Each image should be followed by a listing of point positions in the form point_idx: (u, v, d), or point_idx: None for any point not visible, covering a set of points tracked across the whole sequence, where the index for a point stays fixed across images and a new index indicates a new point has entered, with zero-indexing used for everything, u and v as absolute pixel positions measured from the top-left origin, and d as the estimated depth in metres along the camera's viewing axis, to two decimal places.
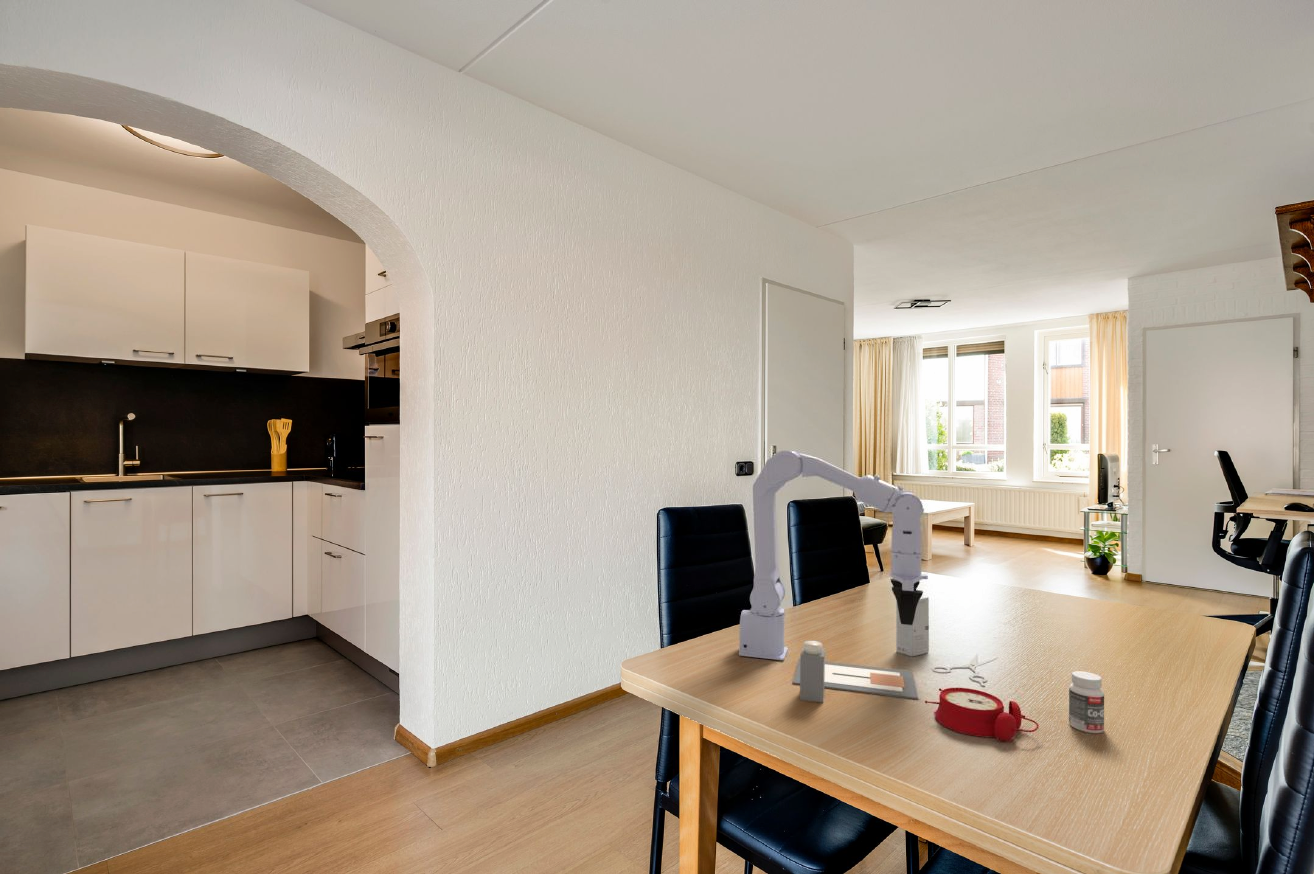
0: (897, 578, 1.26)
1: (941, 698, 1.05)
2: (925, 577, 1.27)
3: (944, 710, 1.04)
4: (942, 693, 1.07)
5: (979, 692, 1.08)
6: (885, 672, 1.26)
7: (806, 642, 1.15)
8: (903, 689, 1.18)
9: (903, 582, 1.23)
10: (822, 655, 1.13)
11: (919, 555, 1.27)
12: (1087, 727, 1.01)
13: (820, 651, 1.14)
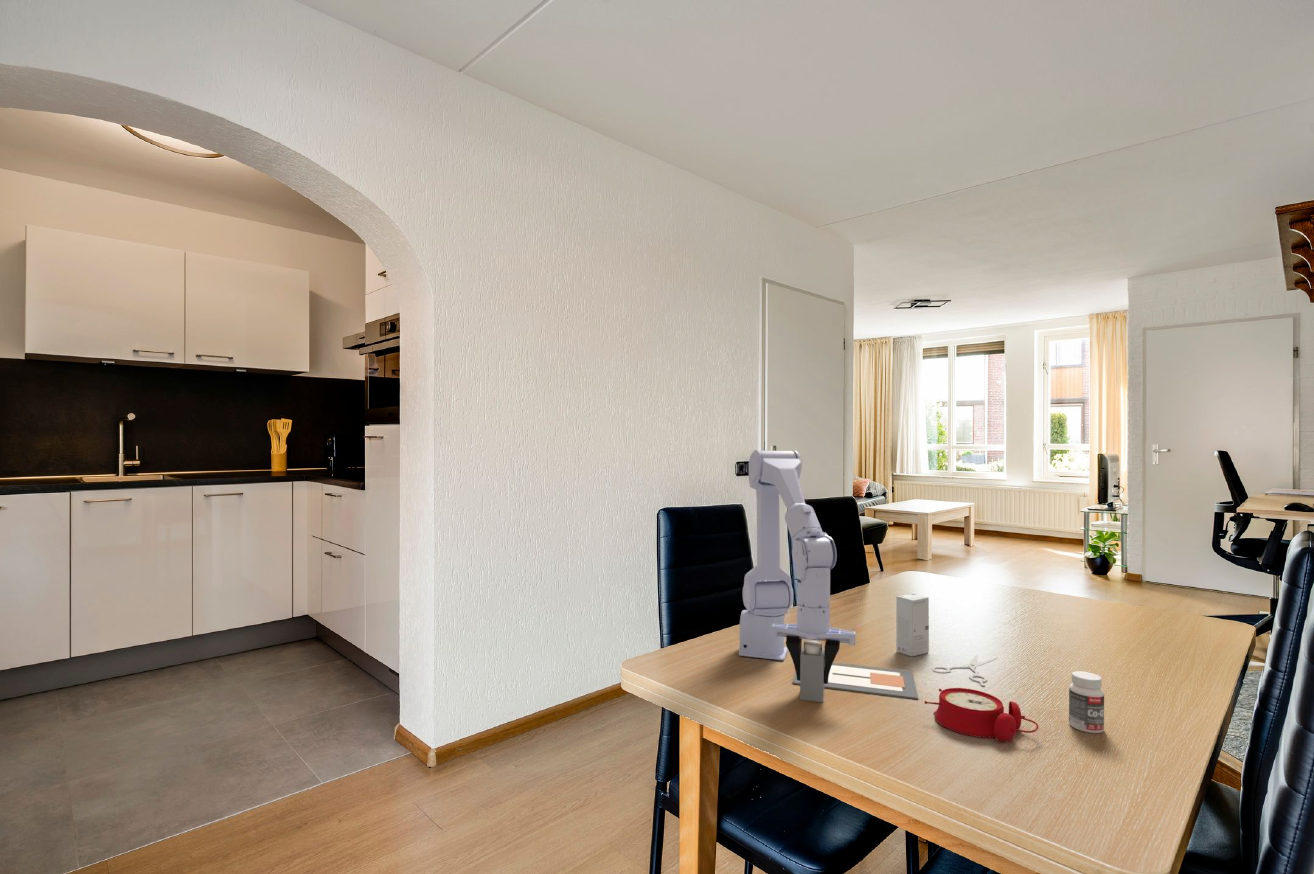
0: None
1: (941, 698, 1.05)
2: (805, 635, 1.12)
3: (943, 710, 1.04)
4: (942, 693, 1.07)
5: (979, 693, 1.08)
6: (885, 672, 1.26)
7: (806, 642, 1.15)
8: (903, 689, 1.18)
9: None
10: (822, 655, 1.13)
11: (803, 608, 1.13)
12: (1087, 727, 1.01)
13: (820, 651, 1.14)
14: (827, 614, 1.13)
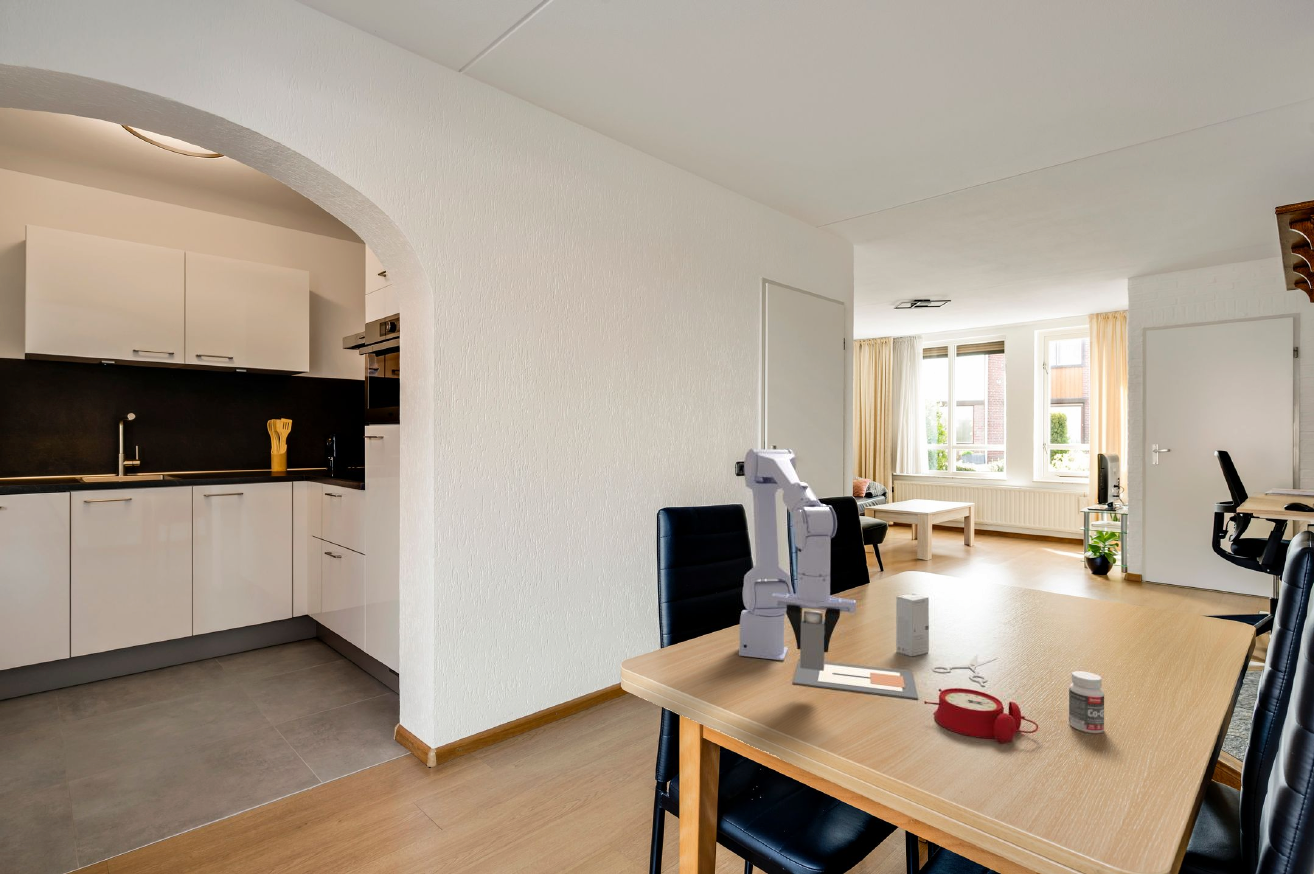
0: None
1: (940, 699, 1.05)
2: (805, 603, 1.12)
3: (943, 710, 1.04)
4: (942, 694, 1.07)
5: (979, 693, 1.07)
6: (885, 672, 1.26)
7: (806, 611, 1.15)
8: (903, 689, 1.18)
9: None
10: (822, 624, 1.13)
11: (803, 577, 1.13)
12: (1087, 727, 1.01)
13: (820, 620, 1.14)
14: (827, 583, 1.13)
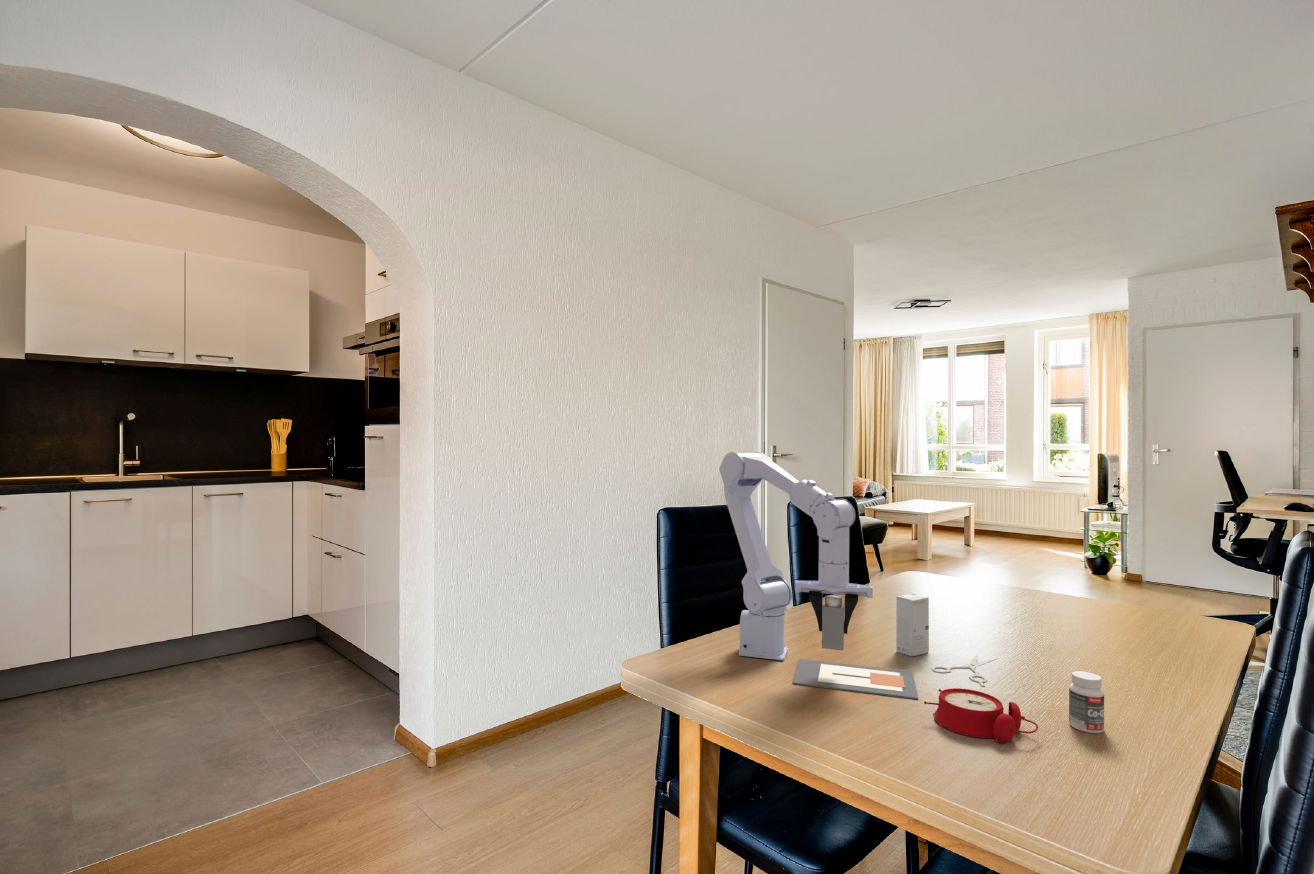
0: None
1: (940, 699, 1.05)
2: (827, 589, 1.22)
3: (943, 711, 1.04)
4: (941, 694, 1.07)
5: (979, 693, 1.07)
6: (885, 672, 1.26)
7: (827, 596, 1.26)
8: (903, 689, 1.18)
9: None
10: (842, 607, 1.23)
11: (824, 564, 1.24)
12: (1087, 727, 1.01)
13: (840, 604, 1.24)
14: (847, 570, 1.23)
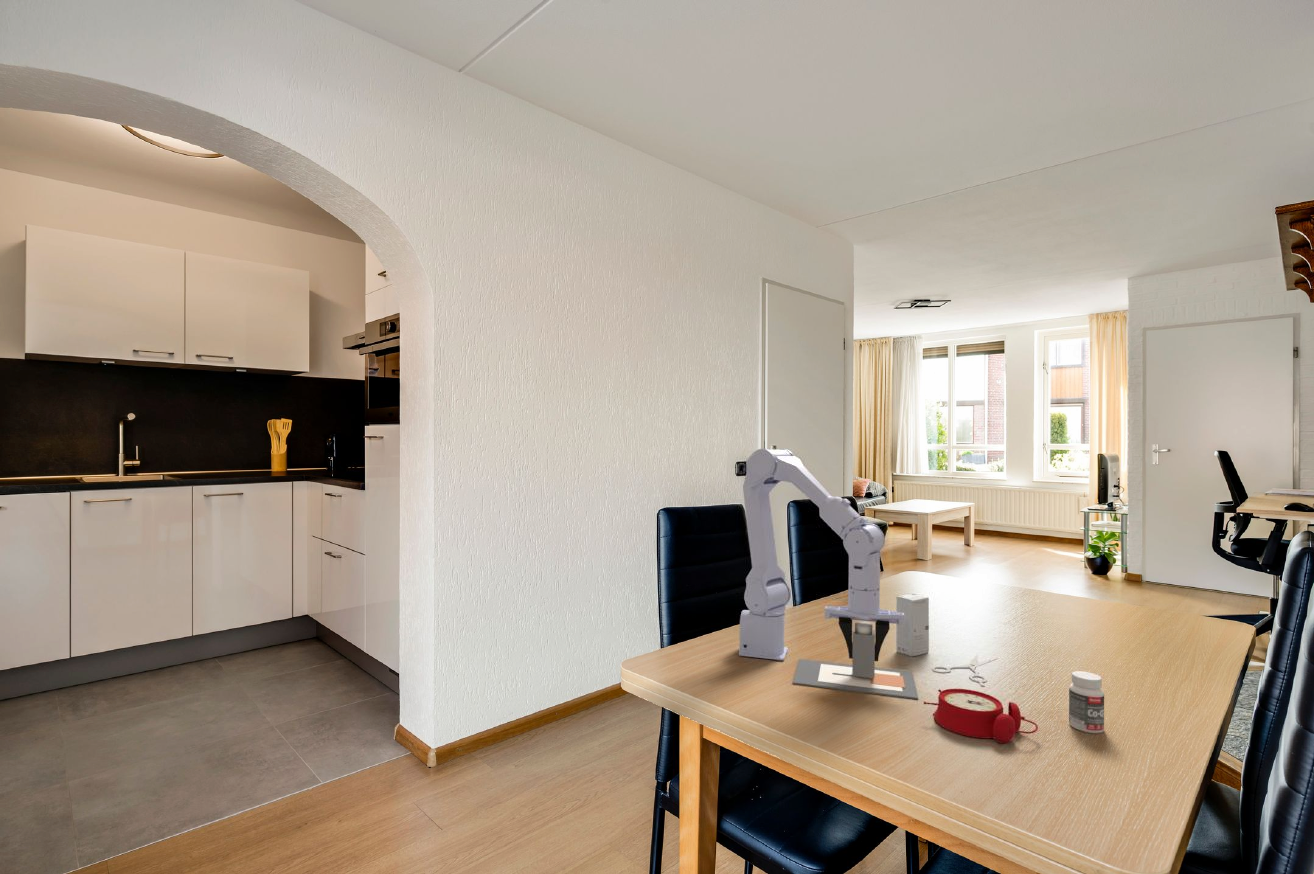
0: None
1: (940, 699, 1.05)
2: (858, 616, 1.20)
3: (942, 711, 1.04)
4: (941, 694, 1.07)
5: (979, 693, 1.07)
6: (885, 672, 1.26)
7: (857, 623, 1.24)
8: (903, 689, 1.18)
9: None
10: (873, 634, 1.22)
11: (855, 591, 1.22)
12: (1087, 727, 1.01)
13: (871, 631, 1.22)
14: (877, 596, 1.22)
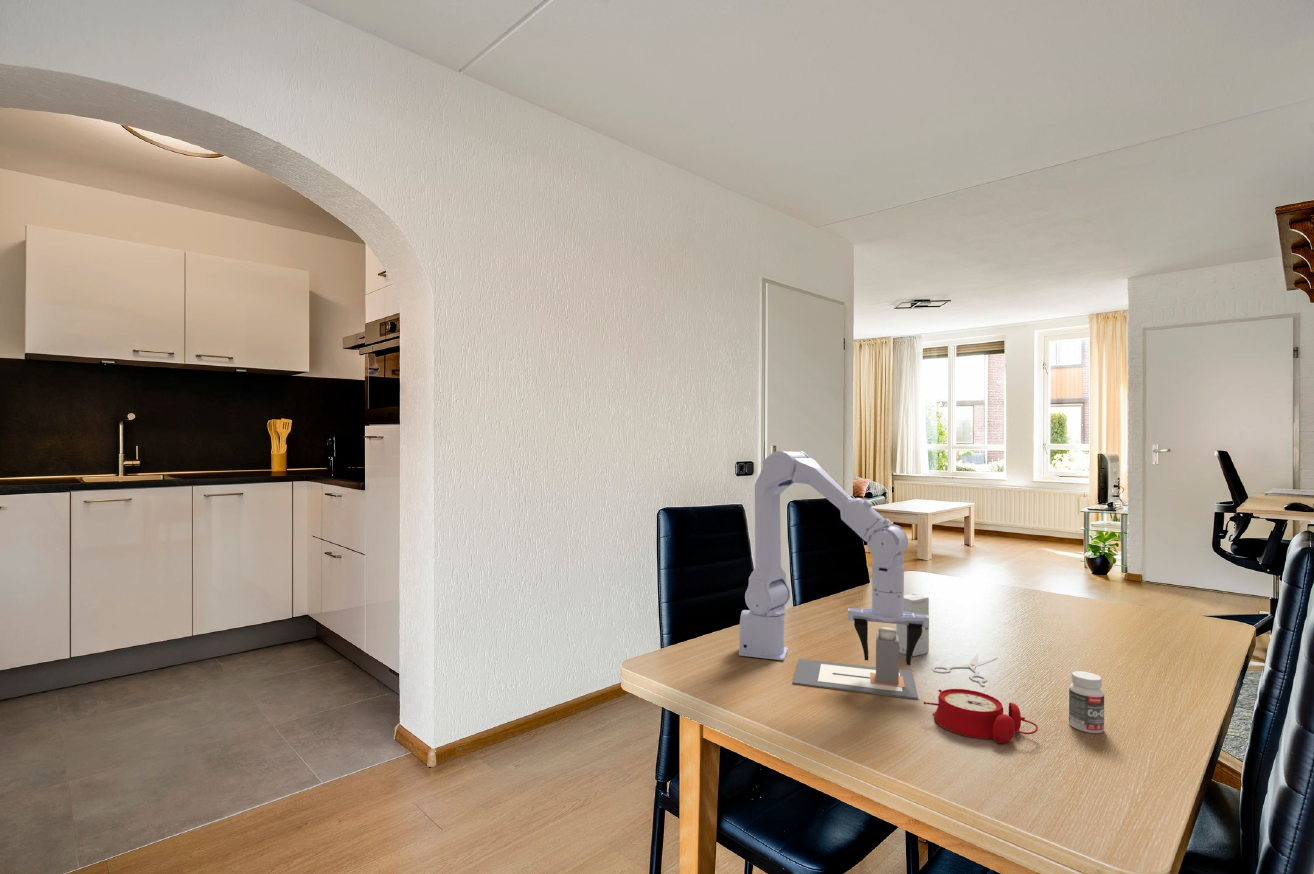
0: None
1: (940, 699, 1.05)
2: (882, 618, 1.19)
3: (942, 711, 1.04)
4: (941, 694, 1.07)
5: (979, 694, 1.07)
6: None
7: (880, 628, 1.23)
8: (903, 689, 1.18)
9: None
10: (897, 640, 1.20)
11: (879, 593, 1.21)
12: (1087, 727, 1.01)
13: (895, 637, 1.21)
14: (902, 599, 1.20)
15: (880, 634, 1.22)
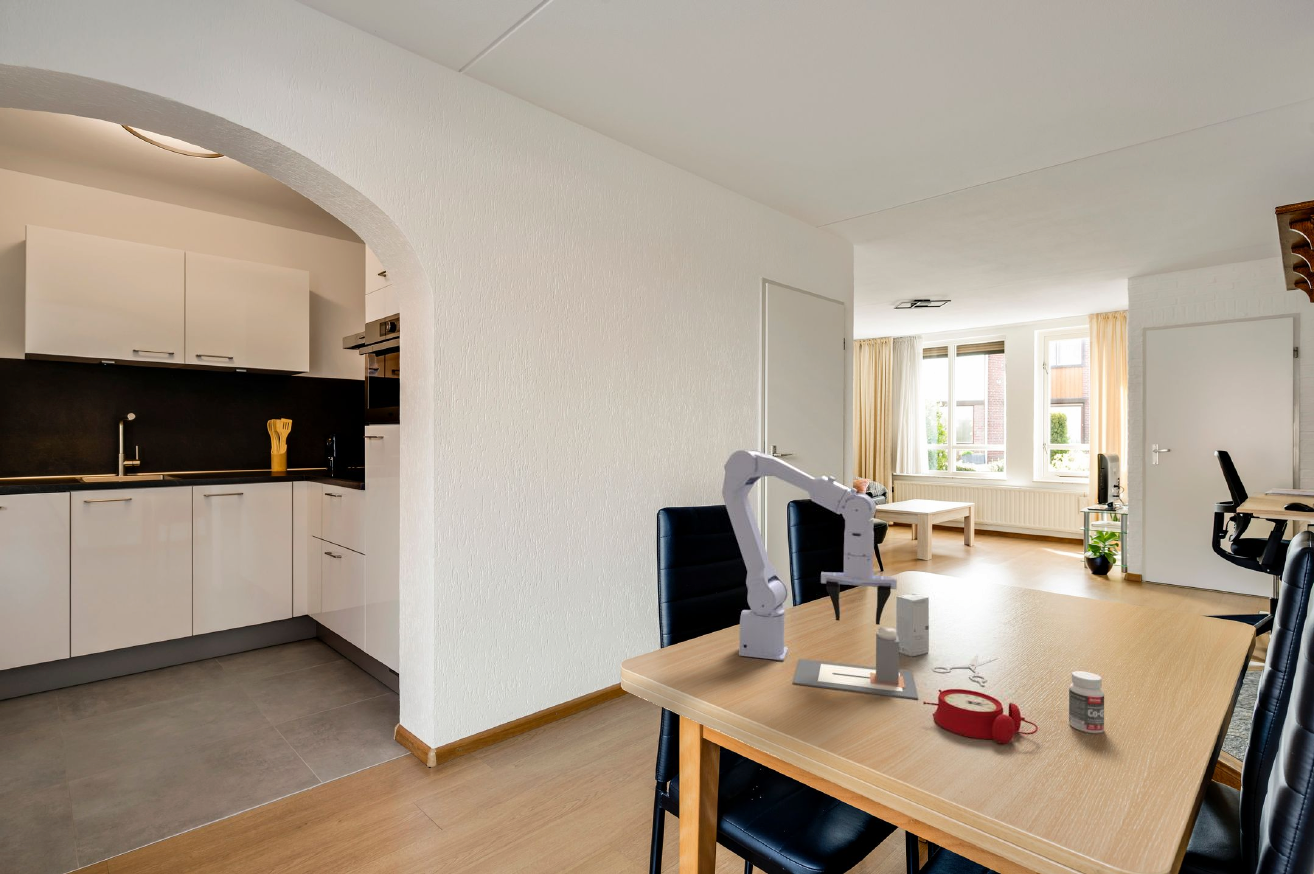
0: None
1: (939, 699, 1.05)
2: (852, 580, 1.26)
3: (942, 711, 1.03)
4: (941, 694, 1.06)
5: (979, 694, 1.07)
6: None
7: (880, 628, 1.23)
8: (903, 689, 1.18)
9: None
10: (897, 640, 1.20)
11: (850, 557, 1.28)
12: (1087, 727, 1.01)
13: (895, 637, 1.21)
14: (871, 562, 1.28)
15: (880, 634, 1.22)
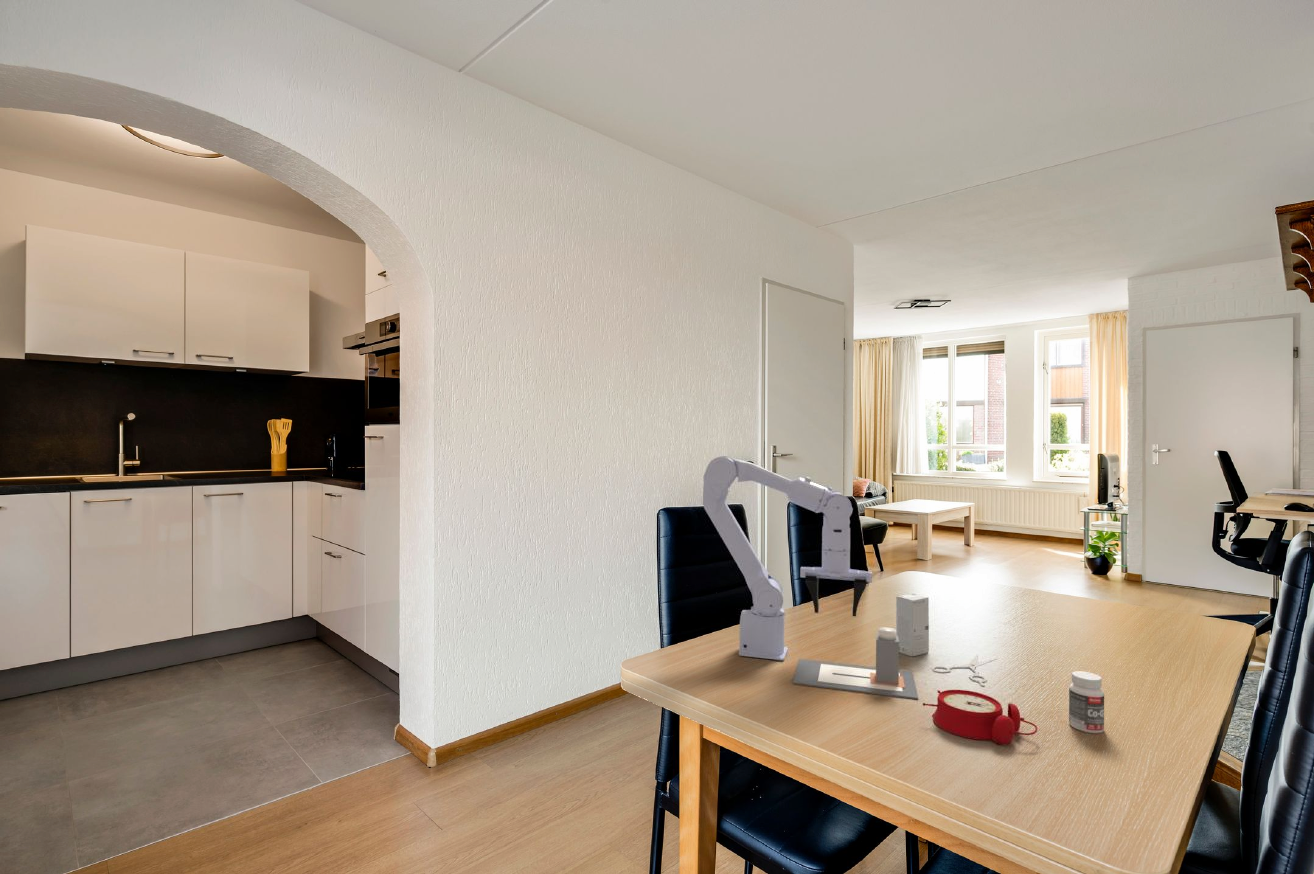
0: None
1: (939, 700, 1.04)
2: (829, 574, 1.33)
3: (941, 712, 1.03)
4: (940, 695, 1.06)
5: (978, 694, 1.07)
6: None
7: (880, 628, 1.23)
8: (903, 689, 1.18)
9: None
10: (897, 640, 1.20)
11: (827, 552, 1.34)
12: (1087, 727, 1.01)
13: (895, 637, 1.21)
14: (848, 557, 1.34)
15: (880, 634, 1.22)
